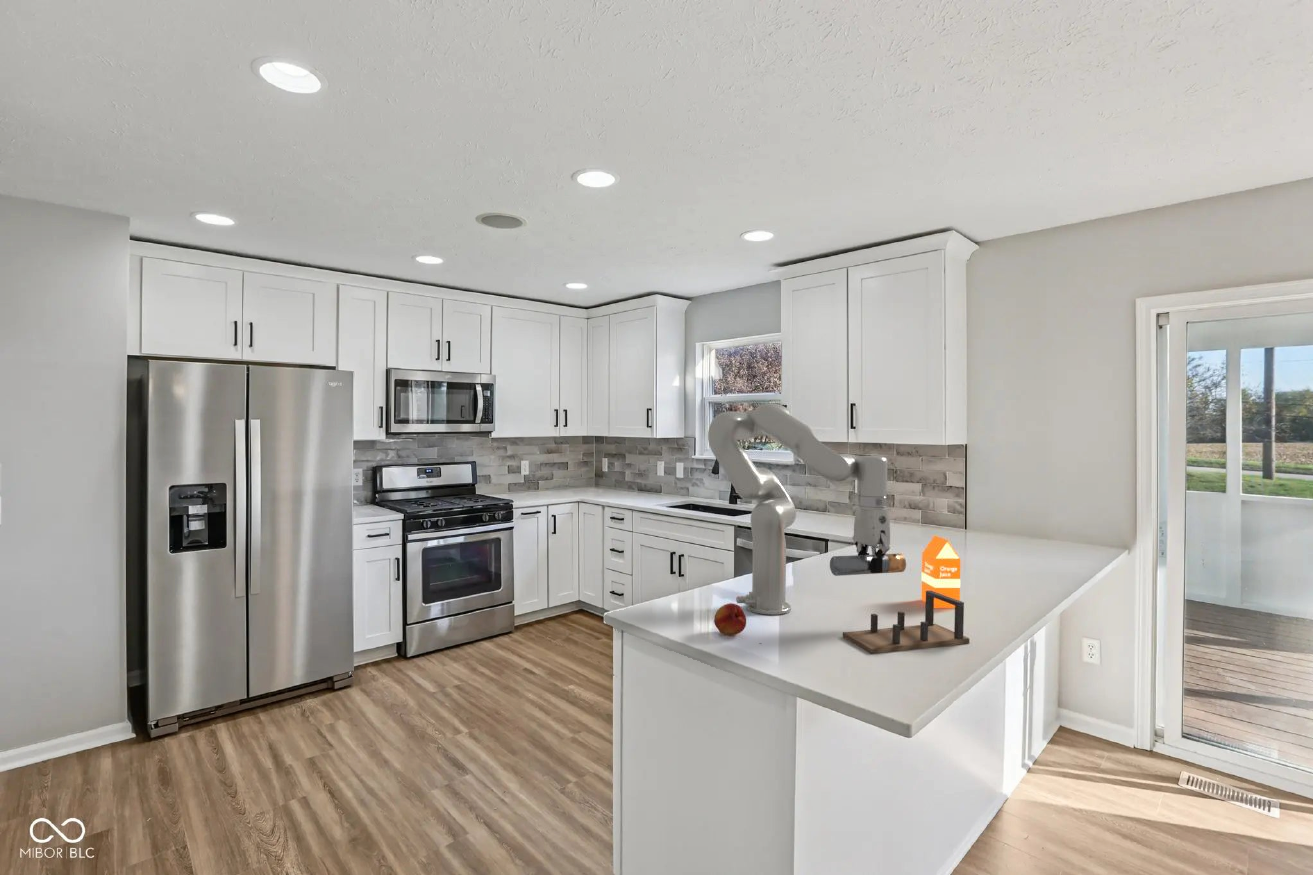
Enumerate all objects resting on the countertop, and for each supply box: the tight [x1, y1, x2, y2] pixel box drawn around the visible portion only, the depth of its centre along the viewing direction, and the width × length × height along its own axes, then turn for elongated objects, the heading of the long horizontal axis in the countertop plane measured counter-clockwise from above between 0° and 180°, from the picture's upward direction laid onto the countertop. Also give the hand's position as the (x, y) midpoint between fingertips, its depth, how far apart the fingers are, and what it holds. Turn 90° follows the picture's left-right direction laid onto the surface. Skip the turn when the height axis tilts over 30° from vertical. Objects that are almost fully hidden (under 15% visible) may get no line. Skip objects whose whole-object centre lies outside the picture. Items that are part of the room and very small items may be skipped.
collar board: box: [842, 590, 970, 655], centre depth 157 cm, size 28×12×10 cm, turn 107°
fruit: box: [713, 602, 747, 636], centre depth 160 cm, size 8×8×8 cm
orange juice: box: [920, 534, 962, 609], centre depth 190 cm, size 8×9×20 cm
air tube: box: [829, 553, 907, 577], centre depth 168 cm, size 20×5×5 cm, turn 106°
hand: (869, 569), depth 168 cm, fingers closed on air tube, 5 cm apart
